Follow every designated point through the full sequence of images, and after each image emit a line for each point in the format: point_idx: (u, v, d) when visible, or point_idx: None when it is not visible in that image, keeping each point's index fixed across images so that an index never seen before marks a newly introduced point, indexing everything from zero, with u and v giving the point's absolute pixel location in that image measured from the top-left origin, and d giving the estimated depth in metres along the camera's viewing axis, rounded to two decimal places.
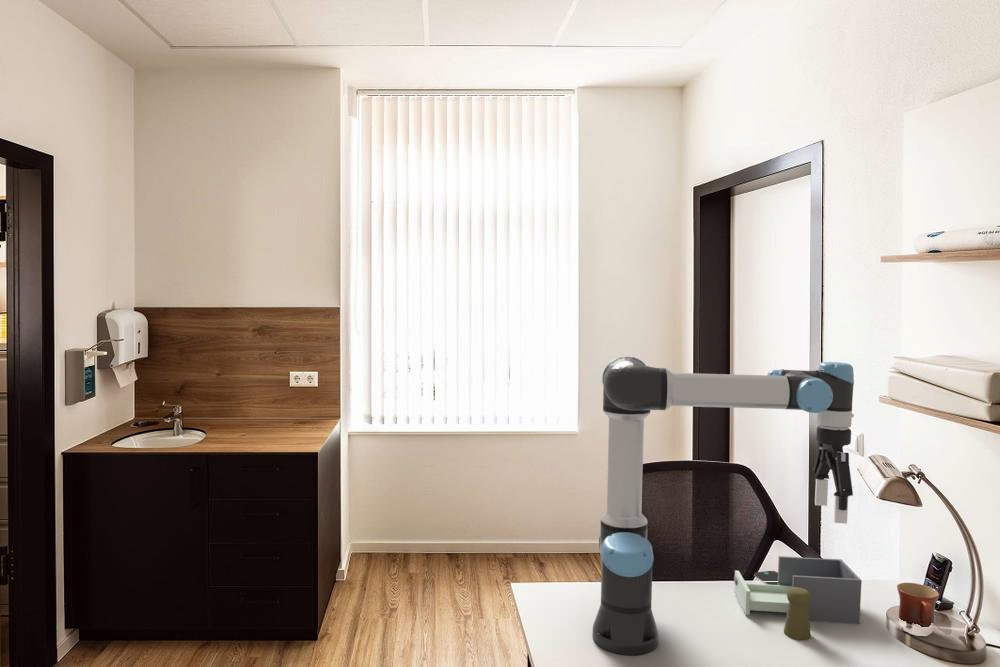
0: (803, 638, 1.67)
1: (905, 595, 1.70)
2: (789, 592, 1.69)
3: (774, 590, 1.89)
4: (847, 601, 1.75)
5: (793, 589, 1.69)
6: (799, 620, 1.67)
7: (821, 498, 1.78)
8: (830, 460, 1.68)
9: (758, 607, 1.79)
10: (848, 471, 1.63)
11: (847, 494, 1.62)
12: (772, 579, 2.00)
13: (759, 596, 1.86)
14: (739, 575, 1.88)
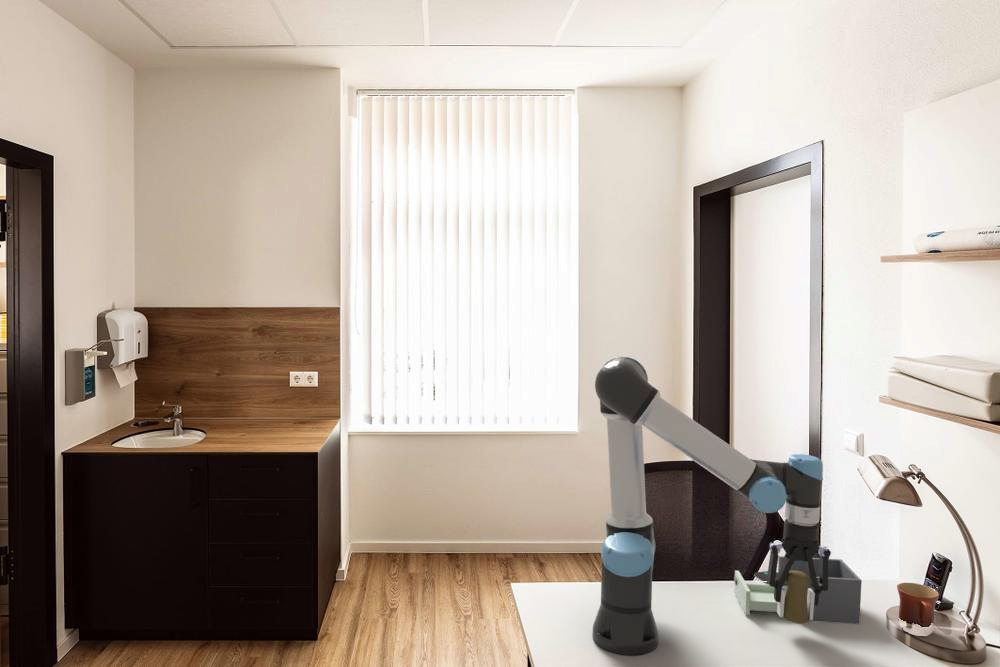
0: (800, 621, 1.67)
1: (905, 595, 1.70)
2: (788, 575, 1.69)
3: None
4: (847, 601, 1.75)
5: (792, 572, 1.69)
6: (797, 602, 1.67)
7: (808, 609, 1.69)
8: None
9: (758, 607, 1.79)
10: (771, 563, 1.68)
11: (768, 582, 1.69)
12: None
13: (759, 596, 1.86)
14: (739, 575, 1.88)
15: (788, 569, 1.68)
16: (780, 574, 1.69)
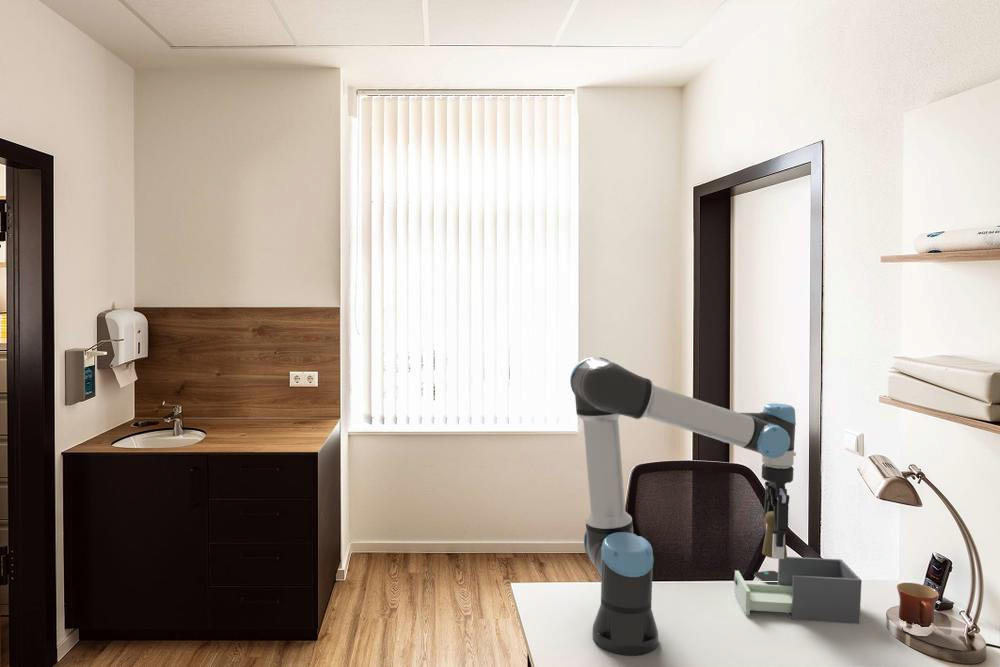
0: None
1: (905, 595, 1.70)
2: None
3: (774, 590, 1.89)
4: (847, 601, 1.75)
5: None
6: None
7: None
8: (773, 498, 1.80)
9: (758, 607, 1.79)
10: (786, 512, 1.76)
11: (783, 532, 1.76)
12: (772, 579, 2.00)
13: (759, 596, 1.86)
14: (739, 575, 1.88)
15: None
16: None
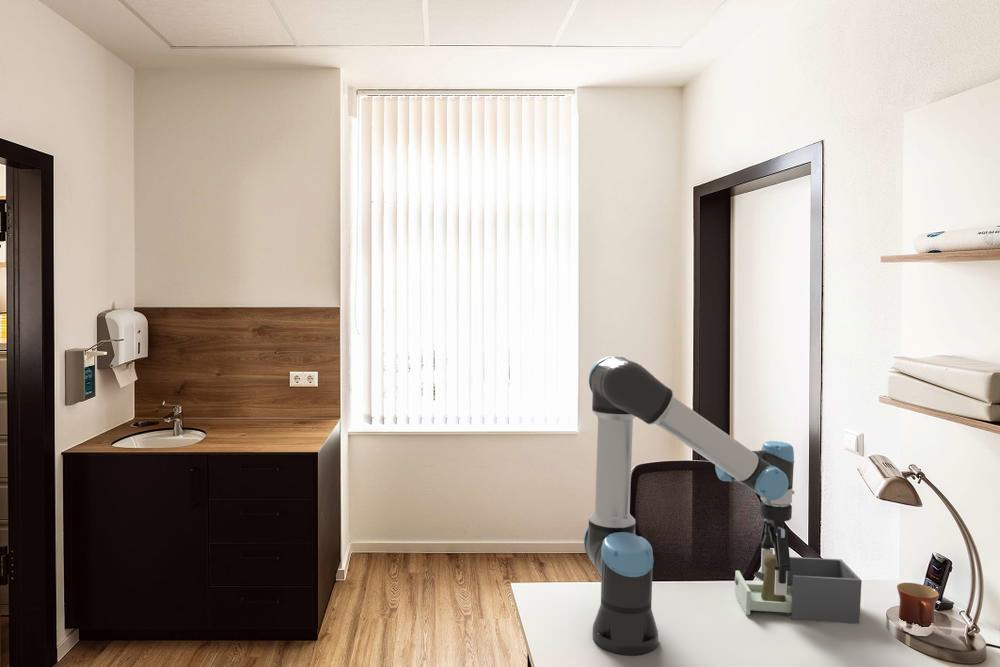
0: None
1: (905, 595, 1.70)
2: None
3: None
4: (847, 601, 1.75)
5: None
6: None
7: None
8: (772, 535, 1.80)
9: (759, 607, 1.79)
10: (787, 547, 1.75)
11: (785, 569, 1.73)
12: None
13: (759, 596, 1.86)
14: (740, 575, 1.88)
15: None
16: None
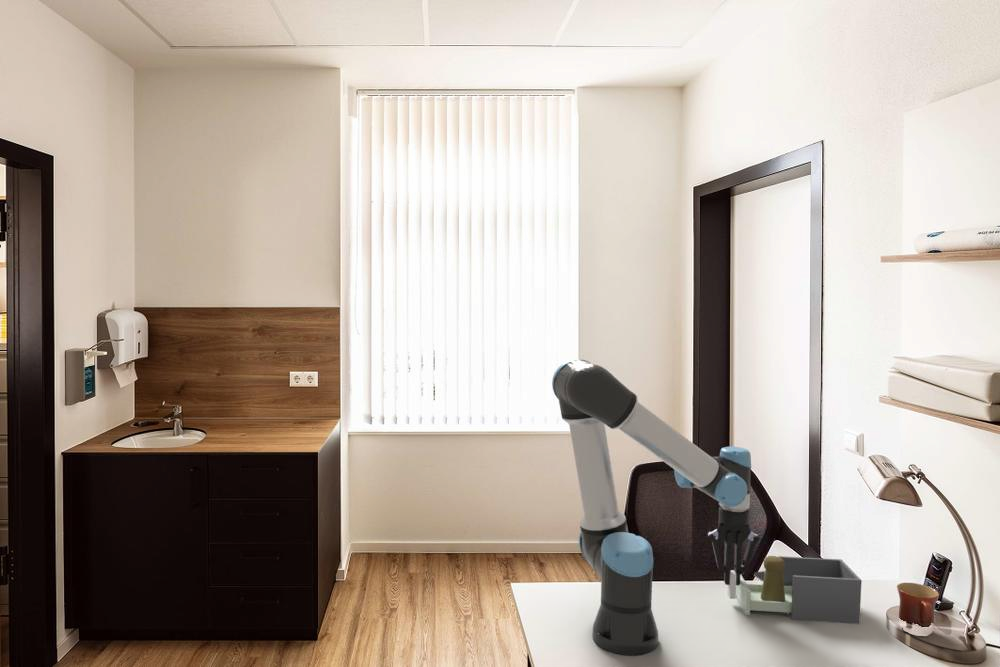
0: None
1: (905, 595, 1.70)
2: (778, 563, 1.81)
3: None
4: (847, 601, 1.75)
5: (775, 559, 1.82)
6: (783, 582, 1.83)
7: None
8: None
9: (758, 607, 1.79)
10: (714, 550, 1.84)
11: None
12: None
13: (759, 596, 1.86)
14: None
15: (729, 553, 1.83)
16: (725, 559, 1.84)
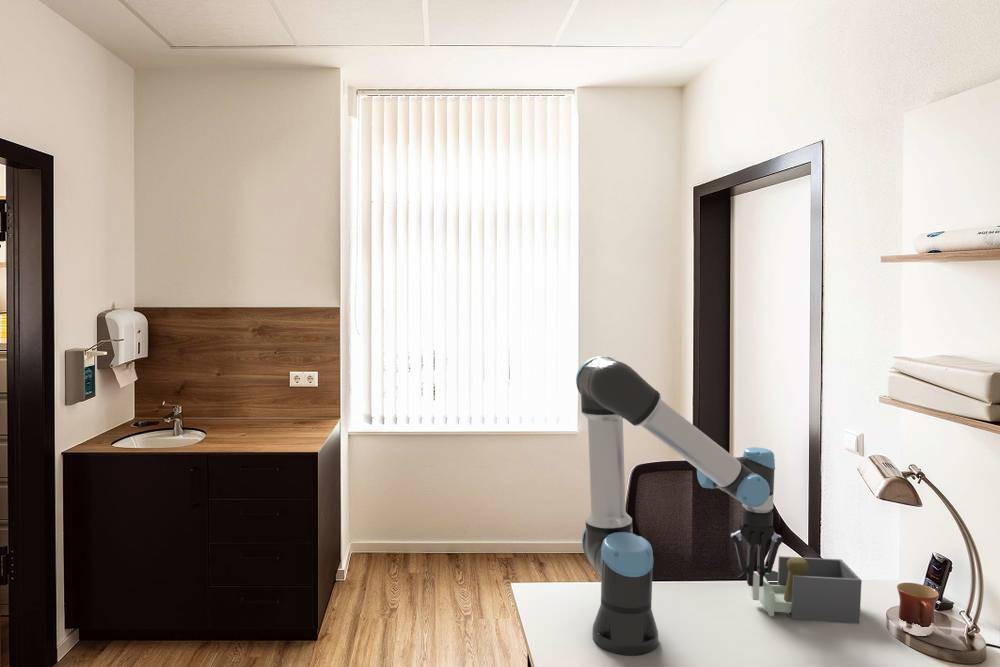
0: None
1: (905, 595, 1.70)
2: (802, 565, 1.80)
3: None
4: (847, 601, 1.75)
5: (799, 561, 1.81)
6: None
7: None
8: None
9: (782, 608, 1.78)
10: (737, 551, 1.83)
11: (741, 568, 1.84)
12: (772, 579, 2.00)
13: (782, 597, 1.85)
14: None
15: (753, 554, 1.83)
16: (748, 560, 1.84)
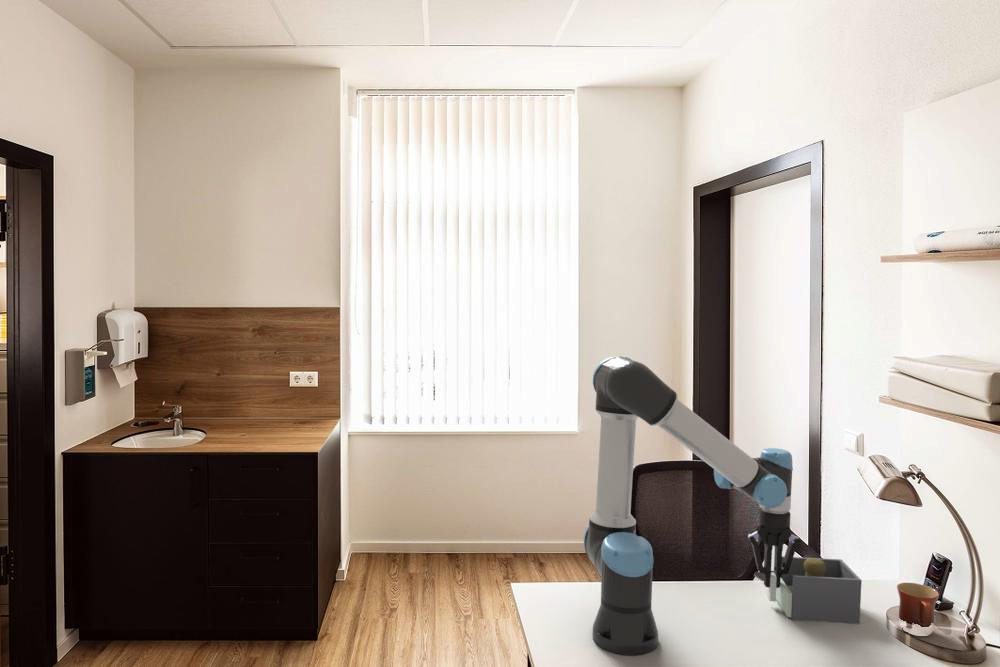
0: None
1: (905, 595, 1.70)
2: (819, 566, 1.80)
3: None
4: (847, 601, 1.75)
5: (816, 562, 1.81)
6: None
7: None
8: None
9: None
10: (754, 552, 1.83)
11: (758, 569, 1.84)
12: None
13: None
14: None
15: (770, 555, 1.82)
16: (765, 561, 1.83)
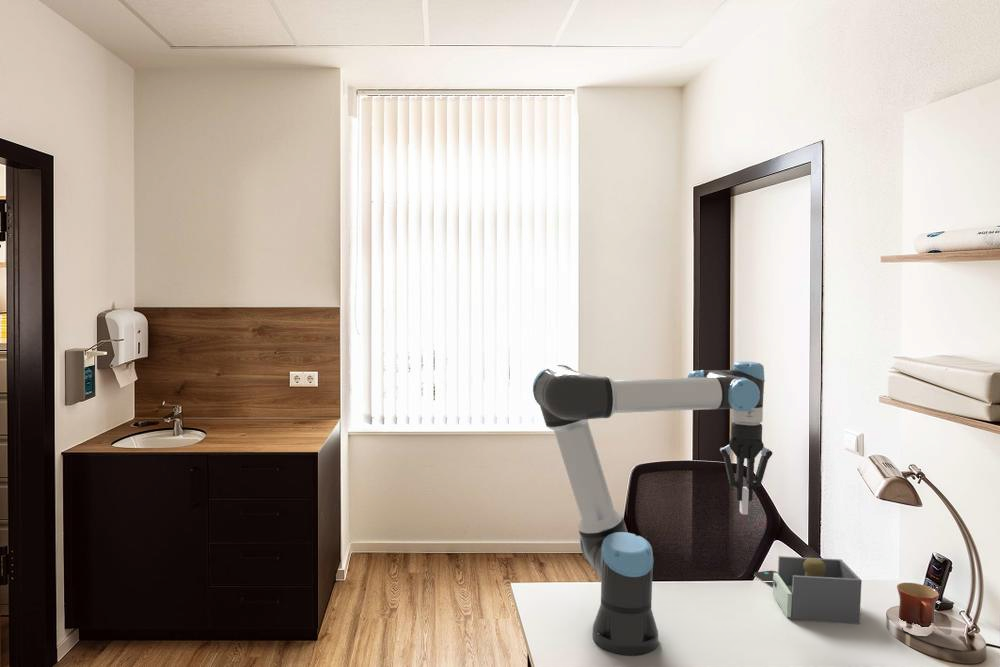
0: None
1: (905, 595, 1.70)
2: (819, 566, 1.80)
3: None
4: (847, 601, 1.75)
5: (816, 562, 1.81)
6: None
7: None
8: None
9: None
10: (726, 465, 1.82)
11: (730, 483, 1.83)
12: (772, 579, 2.00)
13: None
14: (778, 577, 1.87)
15: (742, 468, 1.82)
16: (737, 475, 1.83)
